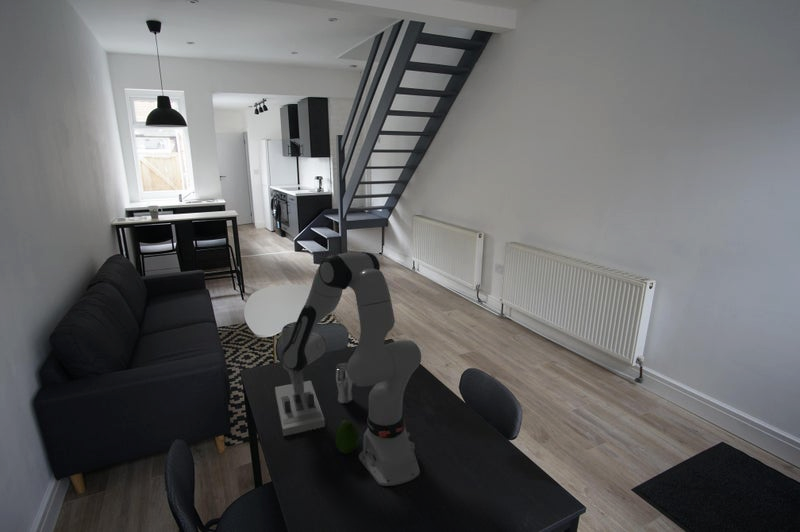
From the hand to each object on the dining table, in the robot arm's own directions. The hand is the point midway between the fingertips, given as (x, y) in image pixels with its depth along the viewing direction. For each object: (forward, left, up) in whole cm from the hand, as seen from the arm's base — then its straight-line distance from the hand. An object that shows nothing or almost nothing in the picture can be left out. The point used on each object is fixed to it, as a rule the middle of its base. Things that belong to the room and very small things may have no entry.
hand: (296, 392), depth 169 cm
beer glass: (-4, -19, -5) cm, 20 cm away
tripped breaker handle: (-3, 0, -1) cm, 3 cm away
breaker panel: (-4, 0, -5) cm, 6 cm away
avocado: (-35, -12, -5) cm, 37 cm away
